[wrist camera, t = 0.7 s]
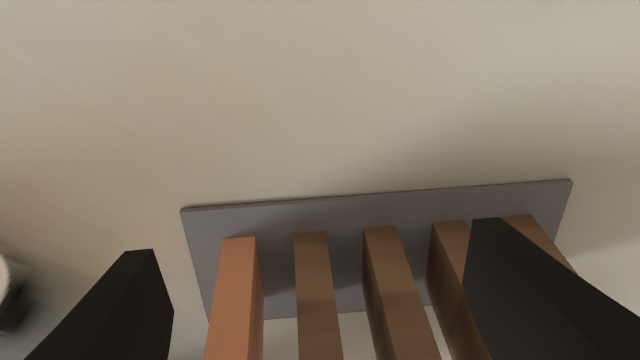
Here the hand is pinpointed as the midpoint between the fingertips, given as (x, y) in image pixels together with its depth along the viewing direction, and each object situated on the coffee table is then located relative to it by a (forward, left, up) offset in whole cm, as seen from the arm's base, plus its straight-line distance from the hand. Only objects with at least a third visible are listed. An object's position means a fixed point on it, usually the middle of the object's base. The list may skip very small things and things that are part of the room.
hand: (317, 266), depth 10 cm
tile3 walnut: (-9, -4, -10) cm, 14 cm away
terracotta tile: (-9, +3, -10) cm, 14 cm away
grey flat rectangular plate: (-9, -4, -10) cm, 14 cm away
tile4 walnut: (-9, 0, -10) cm, 13 cm away
